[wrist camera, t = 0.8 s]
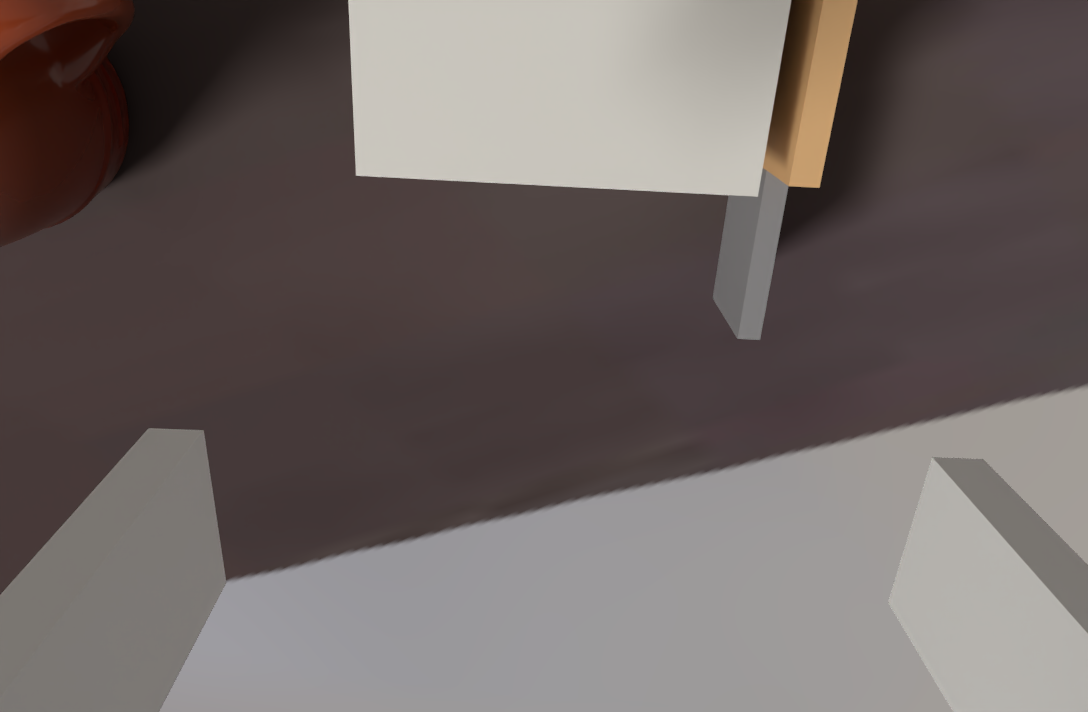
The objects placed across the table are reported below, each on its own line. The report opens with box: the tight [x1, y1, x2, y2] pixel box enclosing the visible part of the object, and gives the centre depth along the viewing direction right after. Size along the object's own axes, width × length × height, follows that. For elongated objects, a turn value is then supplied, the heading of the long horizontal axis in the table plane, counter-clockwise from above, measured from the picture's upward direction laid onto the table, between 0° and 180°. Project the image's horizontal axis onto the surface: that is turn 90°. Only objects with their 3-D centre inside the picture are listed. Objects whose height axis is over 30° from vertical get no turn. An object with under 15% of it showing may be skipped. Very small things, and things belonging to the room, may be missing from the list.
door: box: [713, 0, 858, 340], centre depth 22 cm, size 1×16×8 cm, turn 177°
